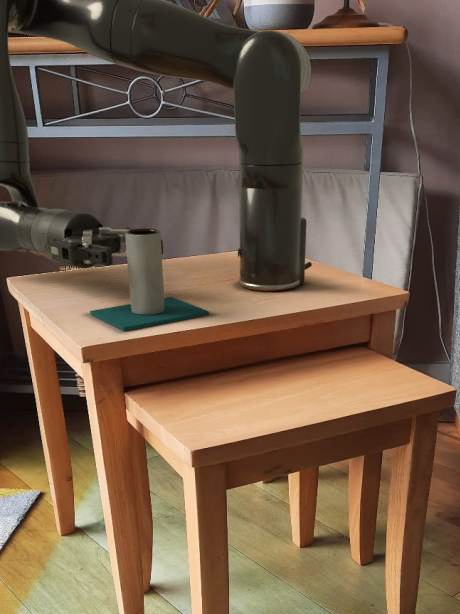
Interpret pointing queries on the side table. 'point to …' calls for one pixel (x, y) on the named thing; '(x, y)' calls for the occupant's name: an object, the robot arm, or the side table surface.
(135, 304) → the planter
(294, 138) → the robot arm
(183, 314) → the towel
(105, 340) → the side table surface
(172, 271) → the side table surface
